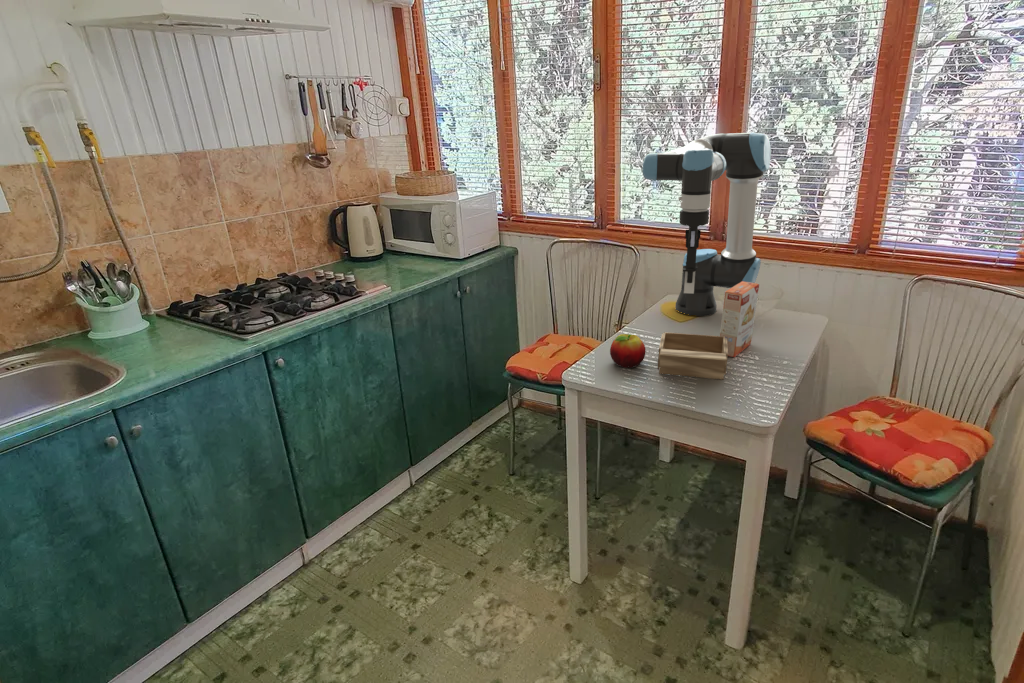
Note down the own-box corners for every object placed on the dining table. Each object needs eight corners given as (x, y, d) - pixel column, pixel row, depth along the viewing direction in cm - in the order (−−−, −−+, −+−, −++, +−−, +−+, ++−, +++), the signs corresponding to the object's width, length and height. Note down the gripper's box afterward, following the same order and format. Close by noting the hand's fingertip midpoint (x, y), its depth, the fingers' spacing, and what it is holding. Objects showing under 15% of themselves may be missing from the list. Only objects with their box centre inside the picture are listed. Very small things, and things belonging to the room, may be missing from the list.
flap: (659, 353, 158) (659, 355, 158) (726, 359, 153) (726, 360, 153) (661, 348, 164) (661, 350, 164) (725, 353, 159) (725, 355, 159)
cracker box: (735, 358, 176) (743, 294, 168) (716, 354, 180) (723, 291, 172) (752, 344, 186) (760, 283, 178) (734, 340, 189) (741, 280, 182)
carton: (661, 354, 181) (662, 331, 178) (724, 359, 175) (726, 335, 172) (657, 373, 168) (658, 349, 165) (725, 380, 163) (728, 354, 160)
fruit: (652, 366, 174) (654, 335, 170) (625, 374, 169) (626, 343, 165) (629, 354, 182) (630, 325, 179) (602, 362, 178) (603, 332, 174)
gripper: (680, 205, 160) (675, 285, 169) (679, 213, 148) (674, 299, 157) (708, 204, 157) (702, 286, 167) (709, 213, 146) (702, 300, 155)
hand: (688, 292), depth 162 cm, fingers closed
